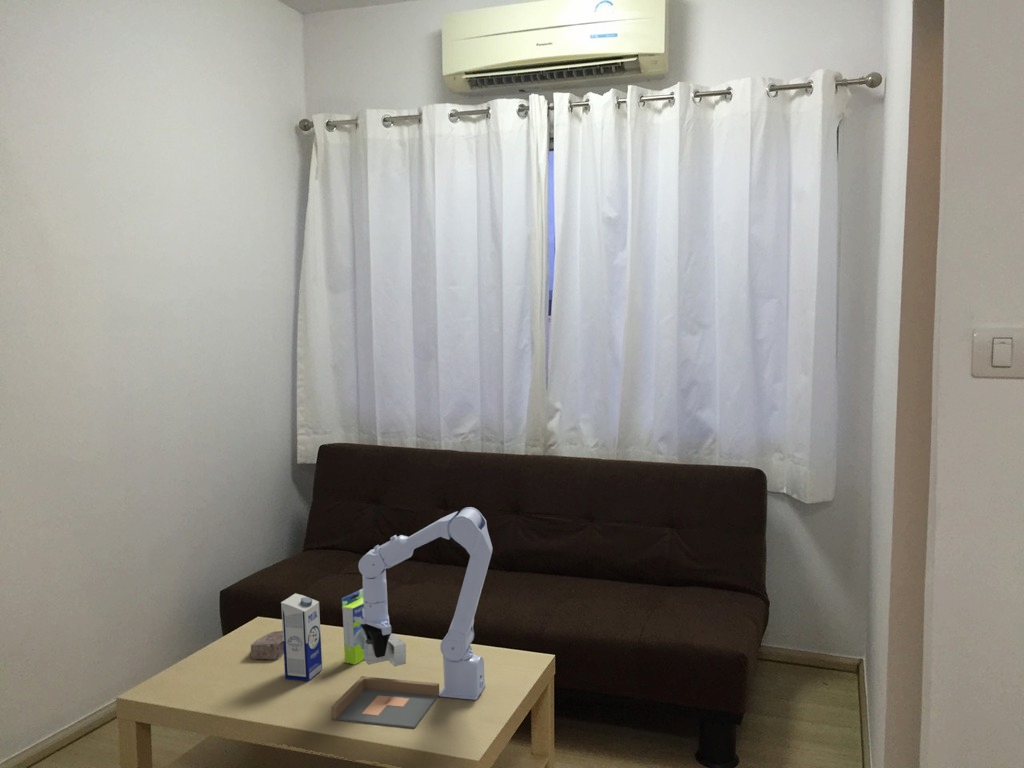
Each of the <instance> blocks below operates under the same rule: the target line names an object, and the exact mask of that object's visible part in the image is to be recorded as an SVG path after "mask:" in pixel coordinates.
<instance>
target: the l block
mask: <svg viewBox="0 0 1024 768" xmlns="http://www.w3.org/2000/svg"><path fill="white" fill-rule="evenodd" d="M406 646H407V645H406V642H405V641H403V640H402V639H401V638H400V637H399V636H398V635H397V634H396V633H393V634H392V633H391V635H390V637H389V640H388V643H387V648H386V653H385V656H383V657H379V658H377V657H376V656H375V652H374V646H373V642H372V639H368V640H364V661H365V663H366V664H367V665H373V664H377V663H383V662H386V661H387V662H389V663H390V664H391V665H392V666H393V667H398V666H403V665H407V649H406V648H407V647H406Z"/></svg>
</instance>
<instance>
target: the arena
mask: <svg viewBox="0 0 1024 768" xmlns="http://www.w3.org/2000/svg"><path fill="white" fill-rule="evenodd" d="M439 693H440V682H439V683H438V682H428V681H418V680H417V681H415V680H408V679H407V680H406V679H405V680H404V679H395V678H386V677H385V678H384V677H383V678H382V677H376V676H375V677H374V676H373V677H372V676H364V675H362V676H360V677H359V678H358V679H357V680H356V682H354V683H353V685H351V687H350V688H348V689H347V690H346V691H345V693H344V694H342V696H340V698H338V699H337V700H336V701H335V703H334V704H332V705H331V706H330V712H331V720H335V721H340V722H341V721H342V722H343V721H344V722H352V723H361V724H371V725H379V726H389V727H396V728H397V727H398V728H407V729H413V730H414V729H416V728H417V726H418V725H419V723H420V722H421V721H422V719H423V718H424V717H425V715H426V714H427V712H428V711H429V710H430V709H431V707H432V706H433V705H434V703H435V702H436V701H437V699H439V698H438V697H440V696H439Z"/></svg>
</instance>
